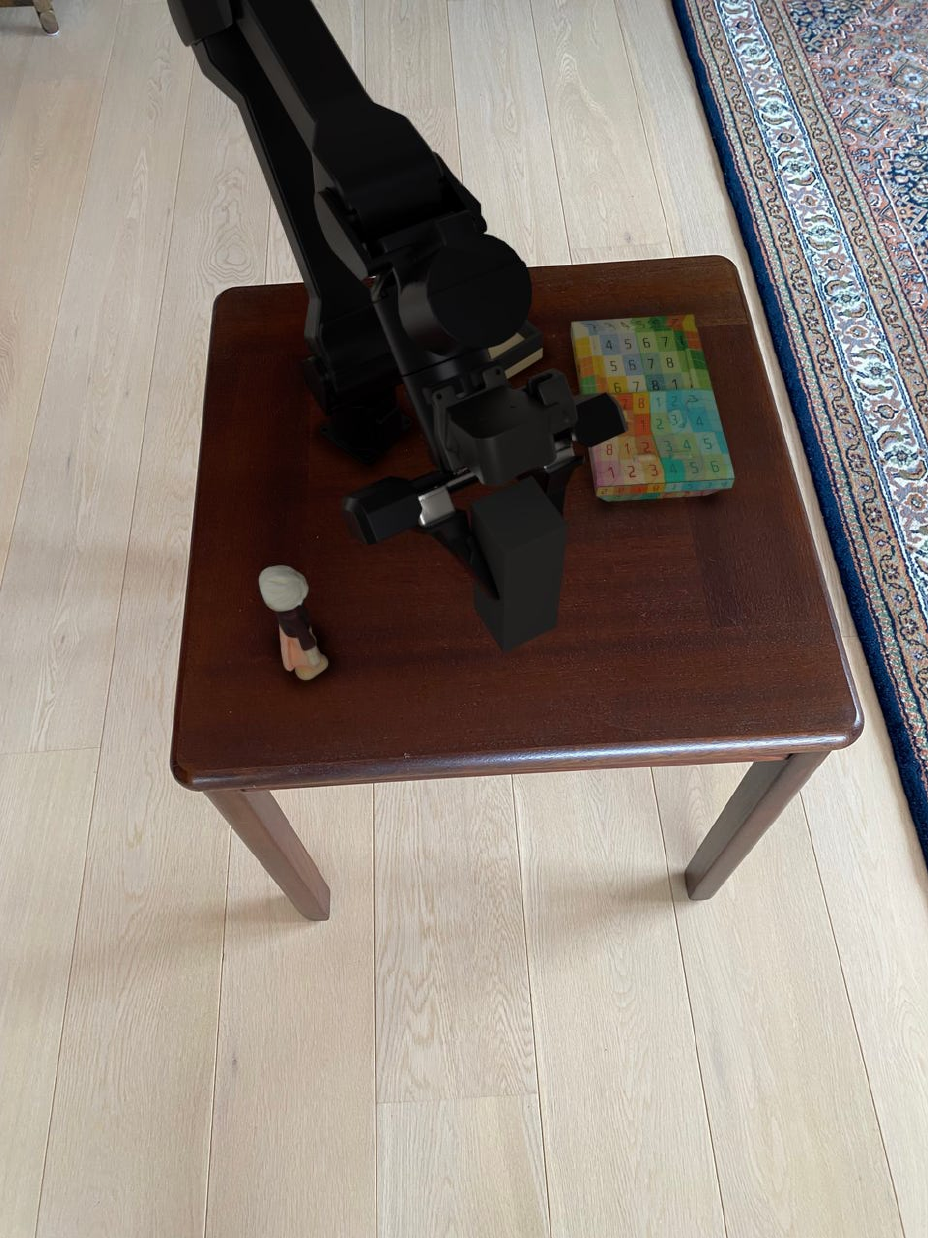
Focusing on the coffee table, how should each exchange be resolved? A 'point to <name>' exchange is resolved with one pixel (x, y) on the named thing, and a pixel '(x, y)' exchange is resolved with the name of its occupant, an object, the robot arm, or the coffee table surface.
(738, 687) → the coffee table surface
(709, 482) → the puzzle game
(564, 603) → the coffee table surface
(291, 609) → the grandmother figurine
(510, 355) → the base pad
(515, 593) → the pad block
